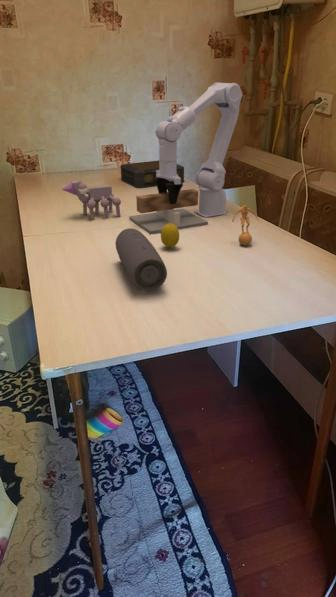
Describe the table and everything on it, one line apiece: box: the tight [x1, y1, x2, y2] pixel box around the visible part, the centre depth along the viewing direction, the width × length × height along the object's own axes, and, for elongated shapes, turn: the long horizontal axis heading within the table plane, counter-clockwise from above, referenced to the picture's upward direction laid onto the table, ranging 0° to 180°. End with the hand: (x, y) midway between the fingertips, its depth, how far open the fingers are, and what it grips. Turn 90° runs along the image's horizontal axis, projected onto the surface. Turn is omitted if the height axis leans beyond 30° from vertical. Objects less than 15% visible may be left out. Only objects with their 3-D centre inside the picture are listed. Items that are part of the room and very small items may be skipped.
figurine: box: [231, 204, 259, 247], centre depth 132 cm, size 8×6×12 cm
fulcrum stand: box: [128, 208, 209, 235], centre depth 153 cm, size 22×18×5 cm
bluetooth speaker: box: [115, 227, 168, 292], centre depth 112 cm, size 23×9×10 cm, turn 17°
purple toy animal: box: [61, 179, 122, 221], centre depth 157 cm, size 20×11×14 cm, turn 114°
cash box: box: [120, 160, 185, 189], centre depth 208 cm, size 25×20×8 cm
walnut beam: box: [136, 188, 199, 214], centre depth 151 cm, size 22×4×5 cm, turn 117°
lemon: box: [160, 223, 180, 249], centre depth 130 cm, size 6×6×8 cm
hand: (167, 201), depth 151 cm, fingers open, 7 cm apart
